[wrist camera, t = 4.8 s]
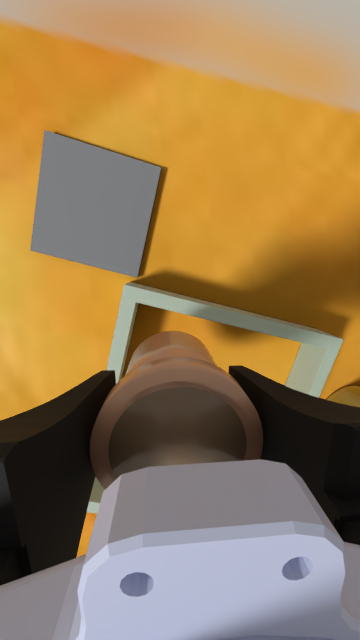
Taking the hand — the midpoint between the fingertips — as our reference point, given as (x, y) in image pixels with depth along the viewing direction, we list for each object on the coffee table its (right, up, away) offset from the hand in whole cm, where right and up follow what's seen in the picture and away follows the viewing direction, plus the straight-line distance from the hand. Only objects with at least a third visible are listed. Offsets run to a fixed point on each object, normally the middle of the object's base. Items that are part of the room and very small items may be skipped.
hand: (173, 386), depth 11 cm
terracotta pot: (0, 0, +2) cm, 2 cm away
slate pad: (-6, +11, +6) cm, 14 cm away
